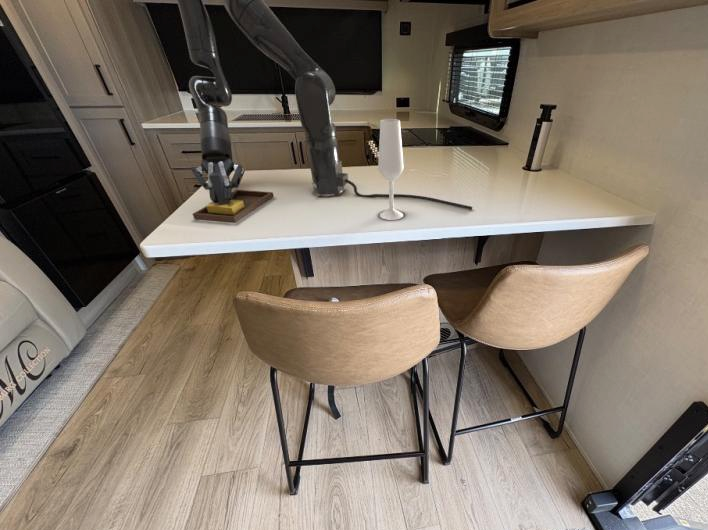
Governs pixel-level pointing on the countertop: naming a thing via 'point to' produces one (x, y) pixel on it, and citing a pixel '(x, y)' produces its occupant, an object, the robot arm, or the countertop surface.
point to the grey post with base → (222, 199)
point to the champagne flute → (390, 160)
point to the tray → (250, 202)
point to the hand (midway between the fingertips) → (221, 201)
